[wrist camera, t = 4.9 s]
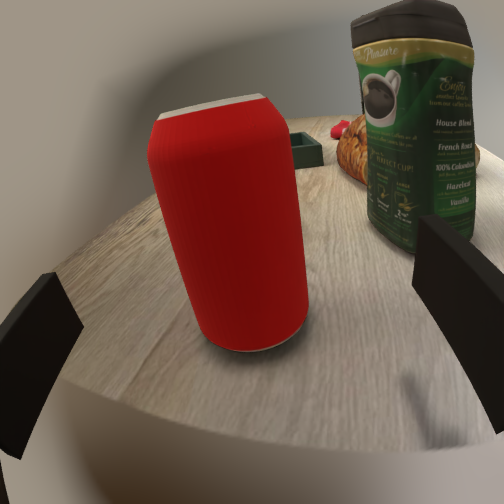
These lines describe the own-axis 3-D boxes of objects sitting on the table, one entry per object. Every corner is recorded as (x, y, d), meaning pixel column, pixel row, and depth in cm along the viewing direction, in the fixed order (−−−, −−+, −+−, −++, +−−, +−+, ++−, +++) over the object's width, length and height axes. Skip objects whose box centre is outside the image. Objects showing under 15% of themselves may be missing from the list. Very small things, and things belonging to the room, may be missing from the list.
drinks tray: (208, 183, 46) (203, 162, 45) (218, 161, 60) (215, 145, 59) (323, 165, 45) (321, 144, 44) (306, 147, 59) (304, 131, 57)
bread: (358, 194, 33) (351, 103, 28) (324, 159, 49) (317, 99, 44) (494, 182, 31) (496, 107, 26) (432, 150, 47) (429, 96, 42)
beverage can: (327, 304, 18) (307, 87, 12) (272, 380, 14) (215, 100, 8) (244, 283, 22) (206, 102, 16) (182, 340, 17) (111, 128, 12)
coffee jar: (486, 246, 20) (482, 5, 11) (412, 270, 19) (393, -21, 10) (422, 204, 28) (408, 19, 19) (355, 217, 28) (331, 13, 19)
